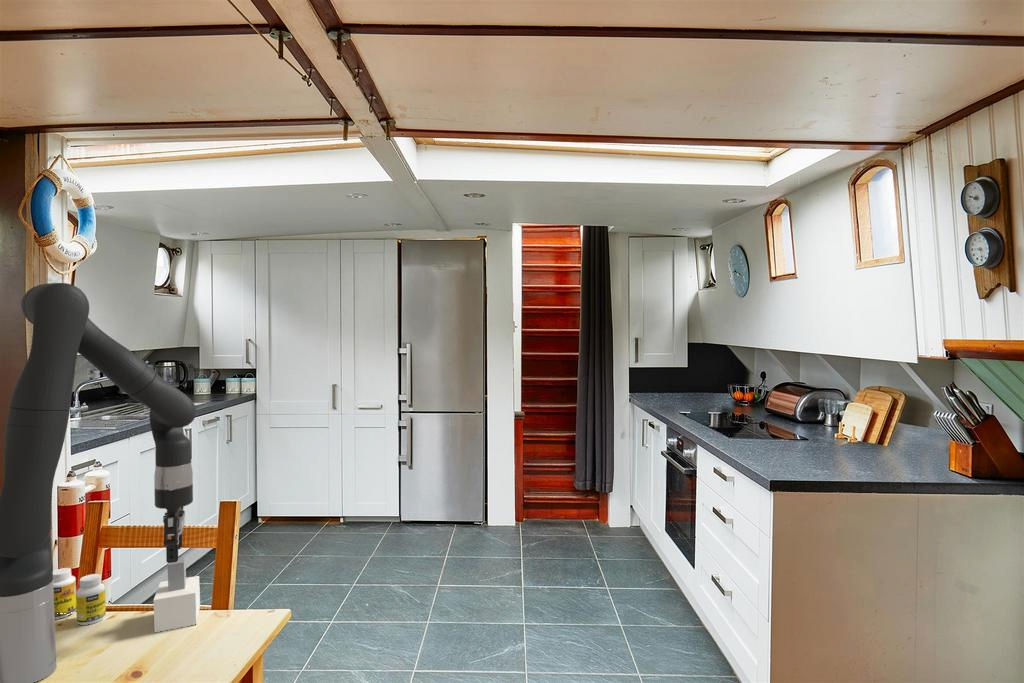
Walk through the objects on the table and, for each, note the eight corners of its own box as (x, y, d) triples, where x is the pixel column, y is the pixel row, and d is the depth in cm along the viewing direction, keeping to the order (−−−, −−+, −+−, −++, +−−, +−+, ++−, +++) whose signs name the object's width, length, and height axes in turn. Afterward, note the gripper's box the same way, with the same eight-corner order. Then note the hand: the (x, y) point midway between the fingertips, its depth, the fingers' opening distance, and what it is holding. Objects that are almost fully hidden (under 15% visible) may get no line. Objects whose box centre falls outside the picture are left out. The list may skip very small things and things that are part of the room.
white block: (154, 632, 129) (152, 572, 129) (161, 612, 138) (159, 556, 138) (196, 624, 132) (194, 566, 132) (200, 605, 141) (198, 550, 141)
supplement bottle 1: (45, 623, 134) (43, 578, 134) (47, 613, 139) (46, 570, 139) (76, 616, 137) (74, 572, 137) (77, 606, 142) (75, 564, 142)
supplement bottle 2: (85, 628, 132) (84, 584, 132) (71, 623, 134) (69, 579, 134) (111, 616, 137) (109, 574, 136) (97, 612, 139) (95, 570, 139)
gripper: (159, 478, 140) (159, 547, 140) (149, 493, 127) (150, 569, 127) (195, 475, 143) (196, 542, 143) (189, 489, 130) (190, 563, 130)
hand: (174, 555), depth 135 cm, fingers open, 8 cm apart
